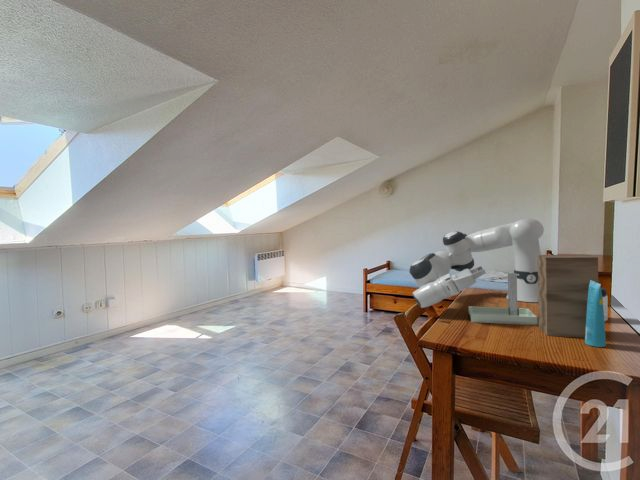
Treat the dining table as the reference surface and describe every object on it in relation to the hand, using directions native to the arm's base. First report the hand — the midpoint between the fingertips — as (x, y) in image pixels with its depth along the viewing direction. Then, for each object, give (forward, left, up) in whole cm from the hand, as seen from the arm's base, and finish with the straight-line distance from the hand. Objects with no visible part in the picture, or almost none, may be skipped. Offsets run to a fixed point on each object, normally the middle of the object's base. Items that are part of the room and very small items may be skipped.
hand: (483, 269), depth 132 cm
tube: (+24, +28, -20) cm, 42 cm away
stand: (+13, +24, -20) cm, 33 cm away
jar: (-6, +38, -20) cm, 43 cm away
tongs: (0, +9, -10) cm, 13 cm away
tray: (0, +6, -20) cm, 20 cm away
